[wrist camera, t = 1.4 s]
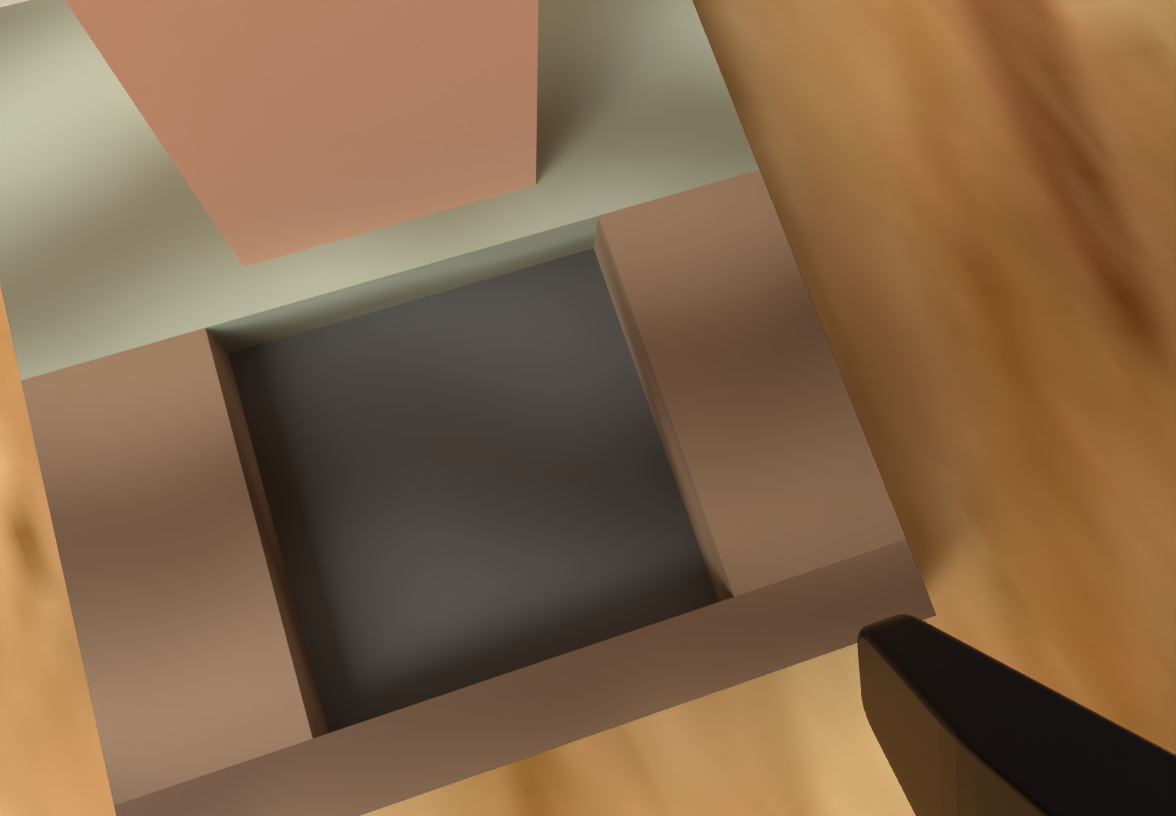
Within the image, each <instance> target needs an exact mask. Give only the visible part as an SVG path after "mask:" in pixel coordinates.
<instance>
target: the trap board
mask: <svg viewBox="0 0 1176 816" xmlns="http://www.w3.org/2000/svg"><path fill="white" fill-rule="evenodd" d="M0 286H1V290H2V295H3V299H4V304H5V309H6V313H7V318H8V322H9V327H10V331H11V336H12V341H13V345H14V350H15V354H16V359H17V363H18V368H19V373H20V377H21V382H22V386H23V391H24V395H25V400H26V405H27V409H28V414H29V418H30V423H31V427H32V432H33V437H34V441H35V446H36V450H37V455H38V459H39V464H40V468H41V473H42V478H43V482H44V487H45V491H46V496H47V500H48V505H49V510H50V514H51V519H52V523H53V528H54V532H55V537H56V542H57V546H58V551H59V555H60V560H61V564H62V569H63V574H64V578H65V583H66V587H67V592H68V596H69V601H70V606H71V610H72V615H73V619H74V624H75V628H76V633H77V638H78V642H79V647H80V651H81V656H82V660H83V665H84V670H85V674H86V679H87V683H88V688H89V692H90V697H91V702H92V706H93V711H94V715H95V720H96V724H97V729H98V734H99V738H100V743H101V747H102V752H103V756H104V761H105V766H106V770H107V775H108V779H109V784H110V788H111V793H112V797H113V802H114V807H115V811H116V816H360V815H363V814H366V813H368V812H371V811H374V810H377V809H380V808H383V807H386V806H389V805H391V804H394V803H397V802H400V801H403V800H406V799H409V798H412V797H414V796H417V795H420V794H423V793H426V792H429V791H432V790H435V789H438V788H440V787H443V786H446V785H449V784H452V783H455V782H458V781H461V780H463V779H466V778H469V777H472V776H475V775H478V774H481V773H484V772H486V771H489V770H492V769H495V768H498V767H501V766H504V765H507V764H509V763H512V762H515V761H518V760H521V759H524V758H527V757H530V756H533V755H535V754H538V753H541V752H544V751H547V750H550V749H553V748H556V747H558V746H561V745H564V744H567V743H570V742H573V741H576V740H579V739H581V738H584V737H587V736H590V735H593V734H596V733H599V732H602V731H605V730H607V729H610V728H613V727H616V726H619V725H622V724H625V723H628V722H630V721H633V720H636V719H639V718H642V717H645V716H648V715H651V714H653V713H656V712H659V711H662V710H665V709H668V708H671V707H674V706H677V705H679V704H682V703H685V702H688V701H691V700H694V699H697V698H700V697H702V696H705V695H708V694H711V693H714V692H717V691H720V690H723V689H725V688H728V687H731V686H734V685H737V684H740V683H743V682H746V681H749V680H751V679H754V678H757V677H760V676H763V675H766V674H769V673H772V672H774V671H777V670H780V669H783V668H786V667H789V666H792V665H795V664H797V663H800V662H803V661H806V660H809V659H812V658H815V657H818V656H820V655H823V654H826V653H829V652H832V651H835V650H838V649H841V648H844V647H846V646H849V645H852V644H855V643H858V634H859V631H860V630H861V629H862V628H863V627H864V626H866V625H869V624H872V623H875V622H878V621H880V620H883V619H886V618H889V617H892V616H895V615H899V614H908V615H912V616H914V617H917V618H919V619H920V620H924V619H927V618H930V617H933V616H936V613H935V610H934V608H933V605H932V603H931V600H930V598H929V595H928V593H927V590H926V588H925V585H924V583H923V580H922V578H921V575H920V573H919V570H918V568H917V565H916V563H915V560H914V558H913V555H912V553H911V550H910V547H909V545H908V542H907V540H906V537H905V535H904V532H903V530H902V527H901V525H900V522H899V520H898V517H897V515H896V512H895V510H894V507H893V505H892V502H891V500H890V497H889V495H888V492H887V490H886V487H885V484H884V482H883V479H882V477H881V474H880V472H879V469H878V467H877V464H876V462H875V459H874V457H873V454H872V452H871V449H870V447H869V444H868V442H867V439H866V437H865V434H864V432H863V429H862V427H861V424H860V422H859V419H858V416H857V414H856V411H855V409H854V406H853V404H852V401H851V399H850V396H849V394H848V391H847V389H846V386H845V384H844V381H843V379H842V376H841V374H840V371H839V369H838V366H837V364H836V361H835V359H834V356H833V354H832V351H831V348H830V346H829V343H828V341H827V338H826V336H825V333H824V331H823V328H822V326H821V323H820V321H819V318H818V316H817V313H816V311H815V308H814V306H813V303H812V301H811V298H810V296H809V293H808V291H807V288H806V285H805V283H804V280H803V278H802V275H801V273H800V270H799V268H798V265H797V263H796V260H795V258H794V255H793V253H792V250H791V248H790V245H789V243H788V240H787V238H786V235H785V233H784V230H783V228H782V225H781V223H780V220H779V217H778V215H777V212H776V210H775V207H774V205H773V202H772V200H771V197H770V195H769V192H768V190H767V187H766V185H765V182H764V180H763V177H762V175H761V172H760V170H759V167H758V165H757V162H756V160H755V157H754V155H753V152H752V149H751V147H750V144H749V142H748V139H747V137H746V134H745V132H744V129H743V127H742V124H741V122H740V119H739V117H738V114H737V112H736V109H735V107H734V104H733V102H732V99H731V97H730V94H729V92H728V89H727V86H726V84H725V81H724V79H723V76H722V74H721V71H720V69H719V66H718V64H717V61H716V59H715V56H714V54H713V51H712V49H711V46H710V44H709V41H708V39H707V36H706V34H705V31H704V29H703V26H702V24H701V21H700V18H699V16H698V13H697V11H696V8H695V6H694V3H693V1H692V0H538V69H537V142H536V185H534V186H530V187H527V188H523V189H520V190H516V191H512V192H509V193H505V194H502V195H498V196H495V197H491V198H487V199H484V200H480V201H477V202H473V203H470V204H466V205H462V206H459V207H455V208H452V209H448V210H445V211H441V212H437V213H434V214H430V215H427V216H423V217H419V218H416V219H412V220H409V221H405V222H402V223H398V224H394V225H391V226H387V227H384V228H380V229H377V230H373V231H369V232H366V233H362V234H359V235H355V236H352V237H348V238H344V239H341V240H337V241H334V242H330V243H327V244H323V245H319V246H316V247H312V248H309V249H305V250H301V251H298V252H294V253H291V254H287V255H284V256H280V257H276V258H273V259H269V260H266V261H262V262H259V263H255V264H251V265H248V266H244V267H243V265H242V264H241V262H240V261H239V259H238V258H237V256H236V255H235V253H234V252H233V250H232V249H231V247H230V246H229V244H228V243H227V241H226V240H225V238H224V237H223V235H222V234H221V232H220V231H219V229H218V228H217V226H216V225H215V223H214V222H213V220H212V219H211V217H210V216H209V214H208V213H207V211H206V210H205V208H204V207H203V205H202V204H201V202H200V201H199V200H198V198H197V197H196V195H195V194H194V192H193V191H192V189H191V188H190V186H189V185H188V183H187V182H186V180H185V179H184V177H183V176H182V174H181V173H180V171H179V170H178V168H177V167H176V165H175V164H174V162H173V161H172V159H171V158H170V156H169V155H168V153H167V152H166V150H165V149H164V147H163V146H162V144H161V143H160V141H159V140H158V138H157V137H156V135H155V134H154V132H153V131H152V129H151V128H150V126H149V125H148V123H147V122H146V120H145V119H144V117H143V116H142V115H141V113H140V112H139V110H138V109H137V107H136V106H135V104H134V103H133V101H132V100H131V98H130V97H129V95H128V94H127V92H126V91H125V89H124V88H123V86H122V85H121V83H120V82H119V80H118V79H117V77H116V76H115V74H114V73H113V71H112V70H111V68H110V67H109V65H108V64H107V62H106V61H105V59H104V58H103V56H102V55H101V53H100V52H99V50H98V49H97V47H96V46H95V44H94V43H93V41H92V40H91V38H90V37H89V35H88V34H87V32H86V31H85V29H84V28H83V27H82V25H81V24H80V22H79V21H78V19H77V18H76V16H75V15H74V13H73V12H72V10H71V9H70V7H69V6H68V4H67V3H66V1H65V0H0Z"/></svg>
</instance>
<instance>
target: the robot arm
mask: <svg viewBox="0 0 1176 816" xmlns="http://www.w3.org/2000/svg"><path fill="white" fill-rule="evenodd" d="M858 657H859V670H860V683H861V696H862V702H863V707H864V710H865V713H866V716H867V719H868V721H869V724H870V726H871V728H872V730H873V732H874V734H875V736H876V738H877V740H878V742H879V744H880V746H881V748H882V750H883V752H884V754H885V756H886V758H887V760H888V762H889V764H890V766H891V768H892V770H893V772H894V774H895V776H896V777H897V779H898V781H899V783H900V785H901V787H902V789H903V791H904V793H905V795H906V797H907V799H908V801H909V803H910V805H911V807H912V809H913V811H914V813H915V815H916V816H1176V755H1175V754H1173V753H1171V752H1169V751H1167V750H1165V749H1163V748H1161V747H1160V746H1158V745H1156V744H1154V743H1152V742H1150V741H1148V740H1146V739H1144V738H1143V737H1141V736H1139V735H1137V734H1135V733H1133V732H1131V731H1129V730H1128V729H1126V728H1124V727H1122V726H1120V725H1118V724H1116V723H1114V722H1112V721H1111V720H1109V719H1107V718H1105V717H1103V716H1101V715H1099V714H1097V713H1096V712H1094V711H1092V710H1090V709H1088V708H1086V707H1084V706H1082V705H1080V704H1079V703H1077V702H1075V701H1073V700H1071V699H1069V698H1067V697H1065V696H1064V695H1062V694H1060V693H1058V692H1056V691H1054V690H1052V689H1050V688H1048V687H1047V686H1045V685H1043V684H1041V683H1039V682H1037V681H1035V680H1033V679H1032V678H1030V677H1028V676H1026V675H1024V674H1022V673H1020V672H1018V671H1016V670H1015V669H1013V668H1011V667H1009V666H1007V665H1005V664H1003V663H1001V662H1000V661H998V660H996V659H994V658H992V657H990V656H988V655H986V654H984V653H983V652H981V651H979V650H977V649H975V648H973V647H971V646H969V645H968V644H966V643H964V642H962V641H960V640H958V639H956V638H954V637H952V636H951V635H949V634H947V633H945V632H943V631H941V630H939V629H937V628H936V627H934V626H932V625H930V624H928V623H926V622H924V621H922V620H920V619H919V618H917V617H914V616H912V615H908V614H899V615H895V616H892V617H889V618H886V619H883V620H880V621H878V622H875V623H872V624H869V625H866V626H864V627H863V628H862V629H861V630H860V631H859V634H858Z"/></svg>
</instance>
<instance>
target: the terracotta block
mask: <svg viewBox="0 0 1176 816" xmlns="http://www.w3.org/2000/svg"><path fill="white" fill-rule="evenodd" d="M65 1H66V3H67V4H68V6H69V7H70V9H71V10H72V12H73V13H74V15H75V16H76V18H77V19H78V21H79V22H80V24H81V25H82V27H83V28H84V29H85V31H86V32H87V34H88V35H89V37H90V38H91V40H92V41H93V43H94V44H95V46H96V47H97V49H98V50H99V52H100V53H101V55H102V56H103V58H104V59H105V61H106V62H107V64H108V65H109V67H110V68H111V70H112V71H113V73H114V74H115V76H116V77H117V79H118V80H119V82H120V83H121V85H122V86H123V88H124V89H125V91H126V92H127V94H128V95H129V97H130V98H131V100H132V101H133V103H134V104H135V106H136V107H137V109H138V110H139V112H140V113H141V115H142V116H143V117H144V119H145V120H146V122H147V123H148V125H149V126H150V128H151V129H152V131H153V132H154V134H155V135H156V137H157V138H158V140H159V141H160V143H161V144H162V146H163V147H164V149H165V150H166V152H167V153H168V155H169V156H170V158H171V159H172V161H173V162H174V164H175V165H176V167H177V168H178V170H179V171H180V173H181V174H182V176H183V177H184V179H185V180H186V182H187V183H188V185H189V186H190V188H191V189H192V191H193V192H194V194H195V195H196V197H197V198H198V200H199V201H200V202H201V204H202V205H203V207H204V208H205V210H206V211H207V213H208V214H209V216H210V217H211V219H212V220H213V222H214V223H215V225H216V226H217V228H218V229H219V231H220V232H221V234H222V235H223V237H224V238H225V240H226V241H227V243H228V244H229V246H230V247H231V249H232V250H233V252H234V253H235V255H236V256H237V258H238V259H239V261H240V262H241V264H242V265H243V267H244V266H248V265H251V264H255V263H259V262H262V261H266V260H269V259H273V258H276V257H280V256H284V255H287V254H291V253H294V252H298V251H301V250H305V249H309V248H312V247H316V246H319V245H323V244H327V243H330V242H334V241H337V240H341V239H344V238H348V237H352V236H355V235H359V234H362V233H366V232H369V231H373V230H377V229H380V228H384V227H387V226H391V225H394V224H398V223H402V222H405V221H409V220H412V219H416V218H419V217H423V216H427V215H430V214H434V213H437V212H441V211H445V210H448V209H452V208H455V207H459V206H462V205H466V204H470V203H473V202H477V201H480V200H484V199H487V198H491V197H495V196H498V195H502V194H505V193H509V192H512V191H516V190H520V189H523V188H527V187H530V186H534V185H536V142H537V69H538V0H65Z"/></svg>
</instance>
